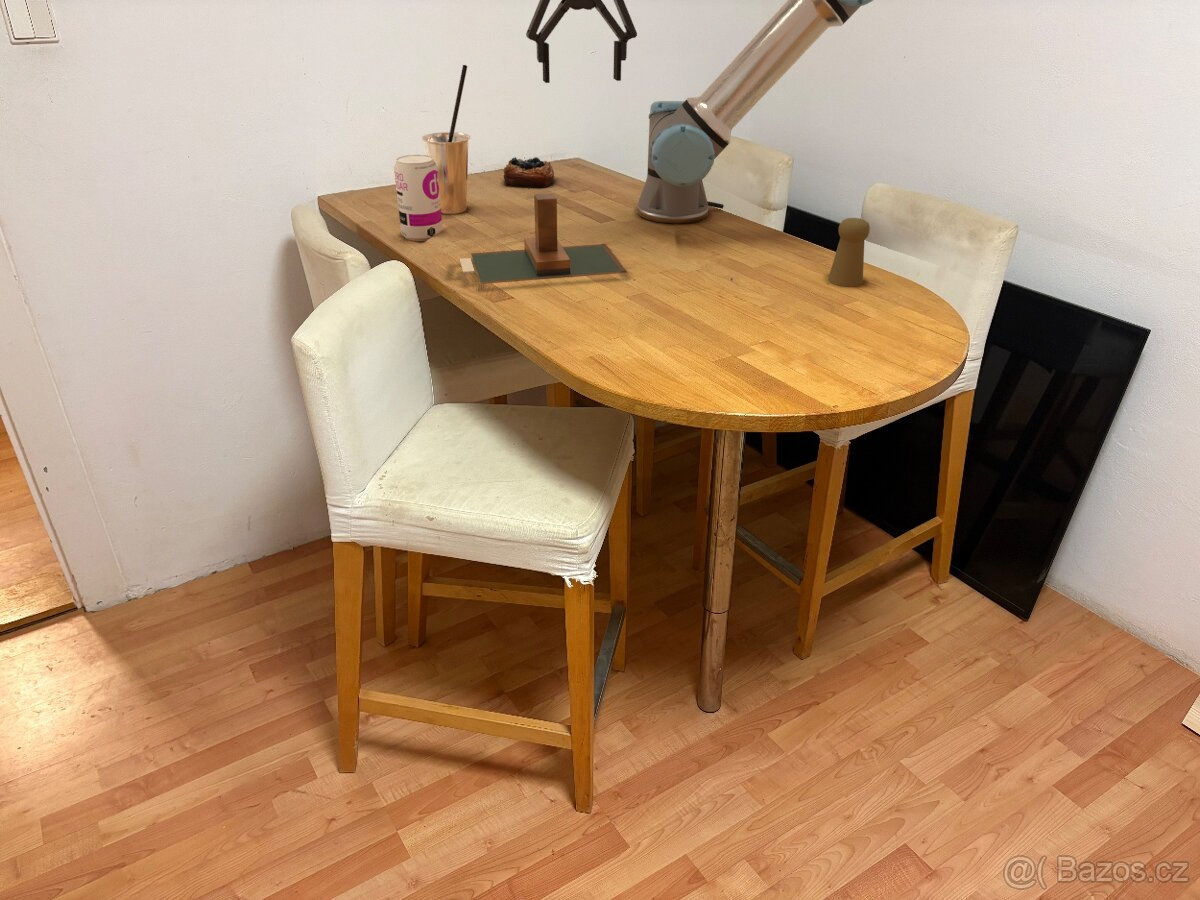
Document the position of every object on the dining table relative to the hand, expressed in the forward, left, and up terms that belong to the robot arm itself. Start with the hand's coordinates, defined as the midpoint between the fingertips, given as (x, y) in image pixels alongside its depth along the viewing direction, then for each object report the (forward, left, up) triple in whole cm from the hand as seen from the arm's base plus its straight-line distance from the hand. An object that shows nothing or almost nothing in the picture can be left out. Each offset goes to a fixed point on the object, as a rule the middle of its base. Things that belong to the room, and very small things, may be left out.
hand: (582, 80), depth 161 cm
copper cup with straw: (+24, -20, -29) cm, 43 cm away
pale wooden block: (+26, +19, -28) cm, 42 cm away
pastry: (+4, -40, -29) cm, 50 cm away
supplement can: (+32, -4, -29) cm, 43 cm away
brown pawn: (-40, +37, -29) cm, 62 cm away
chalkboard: (+11, +20, -29) cm, 37 cm away
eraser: (+11, +20, -28) cm, 36 cm away
